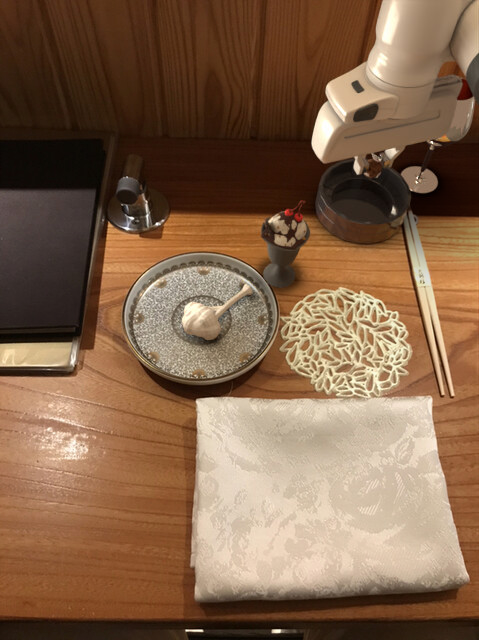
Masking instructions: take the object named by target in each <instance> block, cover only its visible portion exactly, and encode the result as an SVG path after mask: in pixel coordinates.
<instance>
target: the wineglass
mask: <svg viewBox="0 0 479 640" xmlns="http://www.w3.org/2000/svg"><path fill="white" fill-rule="evenodd" d="M458 77H459V78H461V80H462V84H463V85H462V88H461V91H460V93H459V95H458V97H457V105H456V110H455V114H454V117H453V121H452V124H451V126H450V129H449V131H448V132H447V133H446V134H445V135H444V136H443V137H441V138H438V139H433V140H428V141H424V142H425V143H426V144H427V146H428V149H427V152H426V154H425V157H424V160H423V162H422V164H421V166H416V165H414V166H408V167H406V168H405V169H403V170H402V171H401V173H400V175H402V177H403V178H404V179H405V181H406V182H407V184H408V186H409V189H410V192H414V193H418V194H427V193H431V192H433V191H435V190H436V188H437V187H438V185H439V181H438V177H437V176H436V175H435V173H434V172H433V171H432V170H430V169H429V168H427V167H428V165H429V162H430V159H431V157H432V156H433V153H434V150H435V149H437V148H442V147H448V146H452V145H454V144H456V143H458V142H459V141H460V140H462V139H463V138H464V137H465V136H466V135H467V134H468V132H469V130H470V129H471V125H472V122H473V117H474V111H475V105H476V101H475V98H474V96H473V94H472V91H471V89H470V87H469V85H468V82H467V80H466V78H464V77H462V76H458Z"/></svg>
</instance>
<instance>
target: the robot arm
mask: <svg viewBox="0 0 479 640" xmlns="http://www.w3.org/2000/svg"><path fill="white" fill-rule="evenodd" d="M448 62H456V64H457V66H458V68H459V69H460V70H461V72H462V73H463V75H464V77H465V79H466V80H467V82H468V85H469V87H470V89H471V91H472V94H473V96H474V98H475V103H476V104H477V105H478V106H479V0H382V1H381V5H380V9H379V13H378V16H377V21H376V25H375V42H374V44H373V46H372V48H371V50H370V52H369V54H368V58H367V60H366V61H364V62H363V63H361V64H360V65H358V66H356V67H355V68H353V69H351V70H349V71H348V72H346V73H344V74H342V75H340V76H338V77H336V78H334V79H332V80H330V81H329V82H327V85H326V87H325V96H326V98H327V101H326V102H324V103H323V104H322V106H321V107H320V108H319V111H318V113H317V116H316V119H315V123H314V127H313V130H312V131H313V132H312V137H311V148H312V150H313V152H314V154H315V155H316V157H317V158H318V159H319V161H320V162H321V163H323V164H330V163H335V162H340V161H344V160H348V159H355V163H354V170H355V172H356V173H357V175H359V174H363V173H367V172H368V170H367V169H368V168H369V163H368V162H367V161H366V159H367V158H366V157H367V156H368V155H370V154H371V153H372V154H373V153H374V154H375V153H378V152H379V155H378V157H379V159H380V161H379V160H378V159H377V160H378V161H379V162H380V163H381V165H382V169H385V168H389V167H393V163H394V160H395V159H397V157H398V156H400V155H401V153H402V152H404V150H405V148H406V146H410V145H411V146H412V145H415V144H419V143H423V142H425V141H428V140H433V139H438V138H441V137H443V136H444V135H445V134H446V133H447V132H448V131H449V129H450V126H451V124H452V121H453V117H454V114H455V110H456V105H457V97H458V95H459V93H460V91H461V88H462V85H463V84H462V80H461V78H462V77H461V78H459V77H460V76H458V75H456V74H447V75H445V76H440V77H439V73H440V71H441V68H442V66H443V65H444V64H445V63H448ZM383 151H384V152H383ZM381 157H382V158H381ZM381 159H382V160H381Z"/></svg>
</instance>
